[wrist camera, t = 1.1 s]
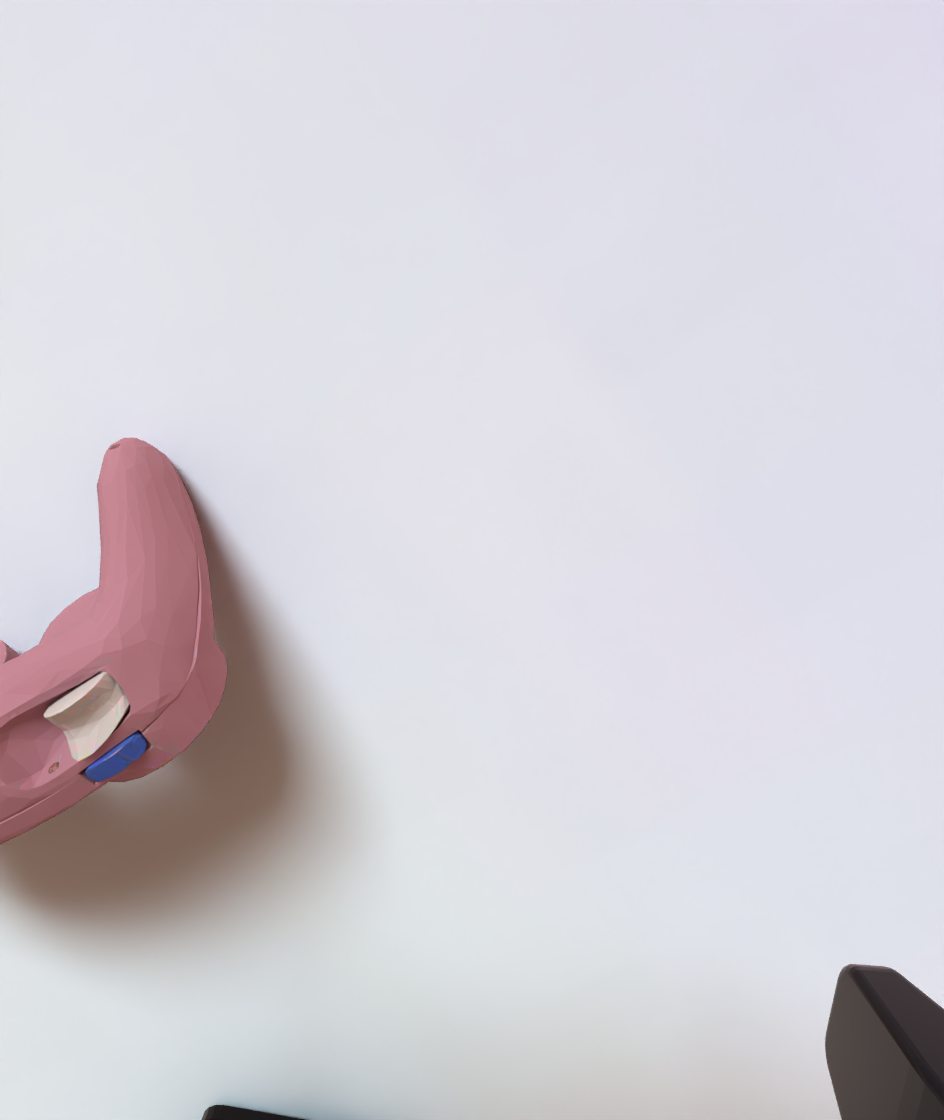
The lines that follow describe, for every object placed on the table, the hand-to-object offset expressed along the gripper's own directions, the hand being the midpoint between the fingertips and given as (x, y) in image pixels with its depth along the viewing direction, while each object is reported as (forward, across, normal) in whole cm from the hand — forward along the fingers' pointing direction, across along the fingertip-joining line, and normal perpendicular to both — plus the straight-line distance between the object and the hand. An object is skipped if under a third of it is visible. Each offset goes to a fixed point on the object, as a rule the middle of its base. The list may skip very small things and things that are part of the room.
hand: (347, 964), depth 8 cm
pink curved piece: (+12, +9, +2) cm, 15 cm away
